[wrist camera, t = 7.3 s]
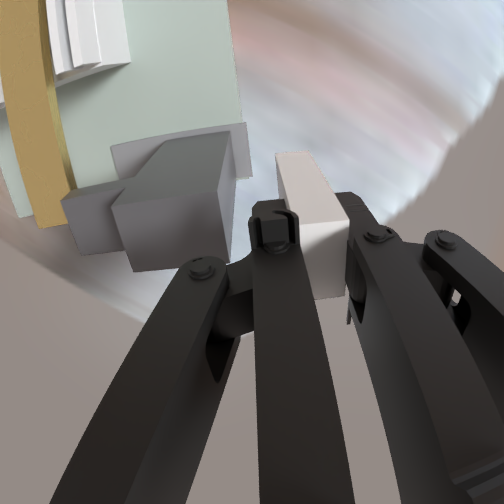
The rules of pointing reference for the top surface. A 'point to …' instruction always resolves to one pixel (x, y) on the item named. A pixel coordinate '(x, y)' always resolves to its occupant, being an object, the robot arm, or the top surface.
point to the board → (135, 85)
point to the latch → (162, 206)
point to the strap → (34, 109)
